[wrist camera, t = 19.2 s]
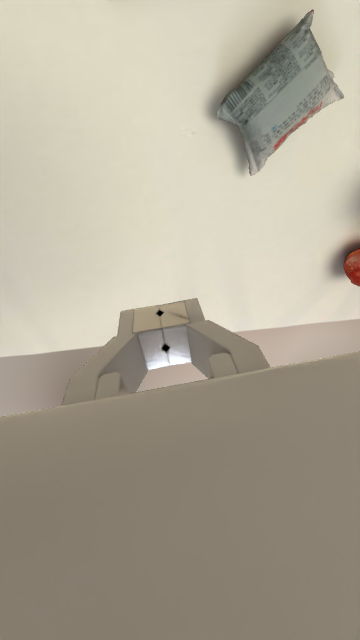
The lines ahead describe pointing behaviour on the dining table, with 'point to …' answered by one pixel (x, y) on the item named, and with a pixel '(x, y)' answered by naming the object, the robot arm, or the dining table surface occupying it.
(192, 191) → the dining table surface
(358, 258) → the pomegranate
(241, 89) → the packaged food
